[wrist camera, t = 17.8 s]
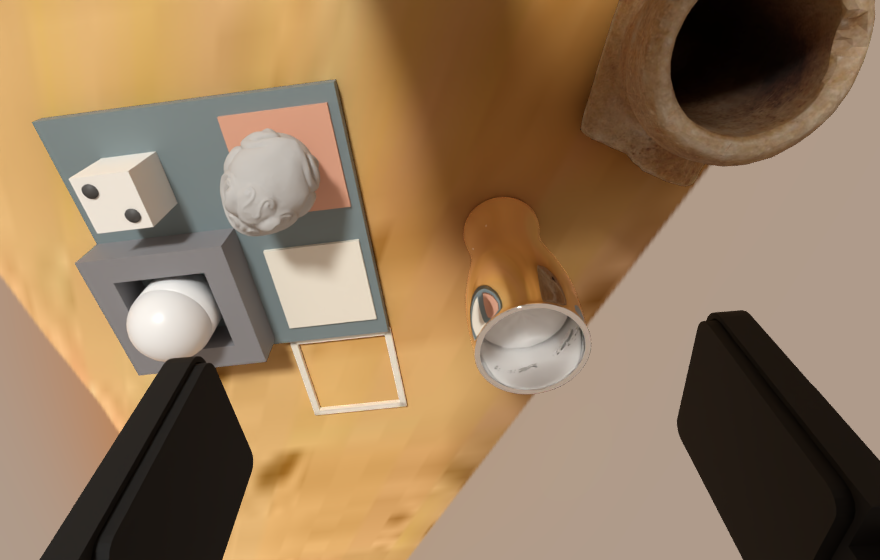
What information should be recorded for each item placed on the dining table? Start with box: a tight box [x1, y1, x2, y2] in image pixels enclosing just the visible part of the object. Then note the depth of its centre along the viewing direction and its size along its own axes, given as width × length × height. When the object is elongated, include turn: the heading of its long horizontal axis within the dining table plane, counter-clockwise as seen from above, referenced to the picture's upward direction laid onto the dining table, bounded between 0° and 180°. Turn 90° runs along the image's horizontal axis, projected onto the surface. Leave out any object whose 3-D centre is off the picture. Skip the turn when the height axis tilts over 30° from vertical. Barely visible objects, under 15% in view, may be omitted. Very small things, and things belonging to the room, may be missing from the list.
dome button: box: [126, 273, 223, 362], centre depth 40 cm, size 6×6×6 cm
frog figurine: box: [220, 128, 320, 236], centre depth 34 cm, size 6×7×7 cm
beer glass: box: [463, 197, 591, 394], centre depth 35 cm, size 7×7×15 cm
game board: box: [32, 79, 407, 415], centre depth 42 cm, size 31×21×5 cm
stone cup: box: [580, 0, 875, 186], centre depth 29 cm, size 15×12×15 cm
